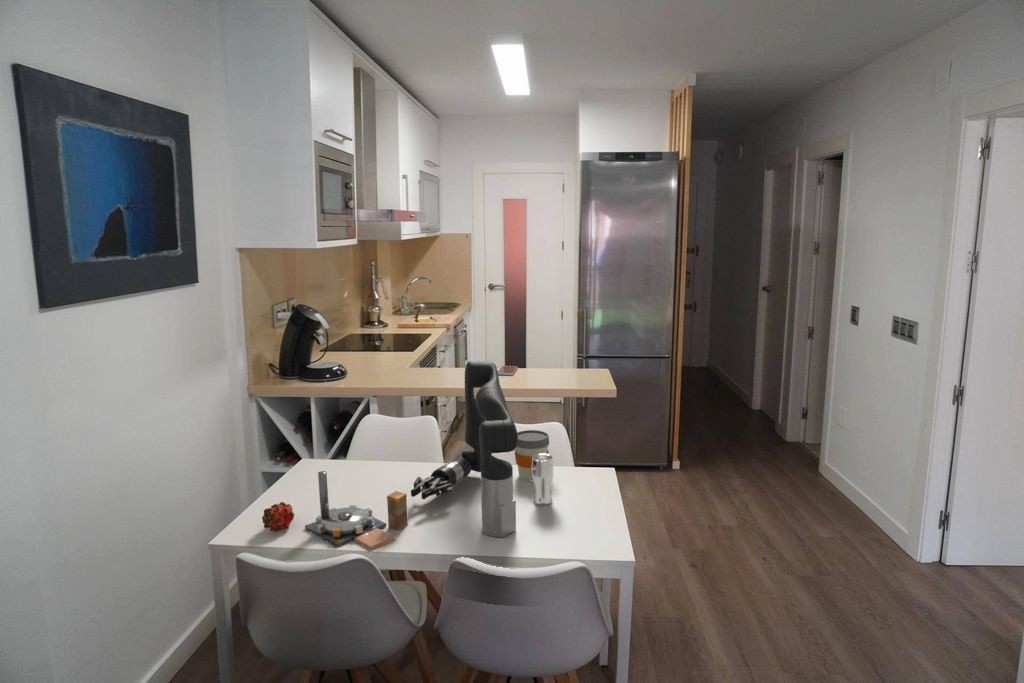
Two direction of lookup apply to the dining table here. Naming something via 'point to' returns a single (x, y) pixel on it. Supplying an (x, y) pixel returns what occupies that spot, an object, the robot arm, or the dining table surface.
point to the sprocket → (340, 514)
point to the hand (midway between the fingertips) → (417, 494)
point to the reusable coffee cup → (529, 450)
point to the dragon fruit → (278, 516)
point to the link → (397, 510)
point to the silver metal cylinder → (542, 478)
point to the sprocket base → (345, 537)
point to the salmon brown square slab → (374, 538)
